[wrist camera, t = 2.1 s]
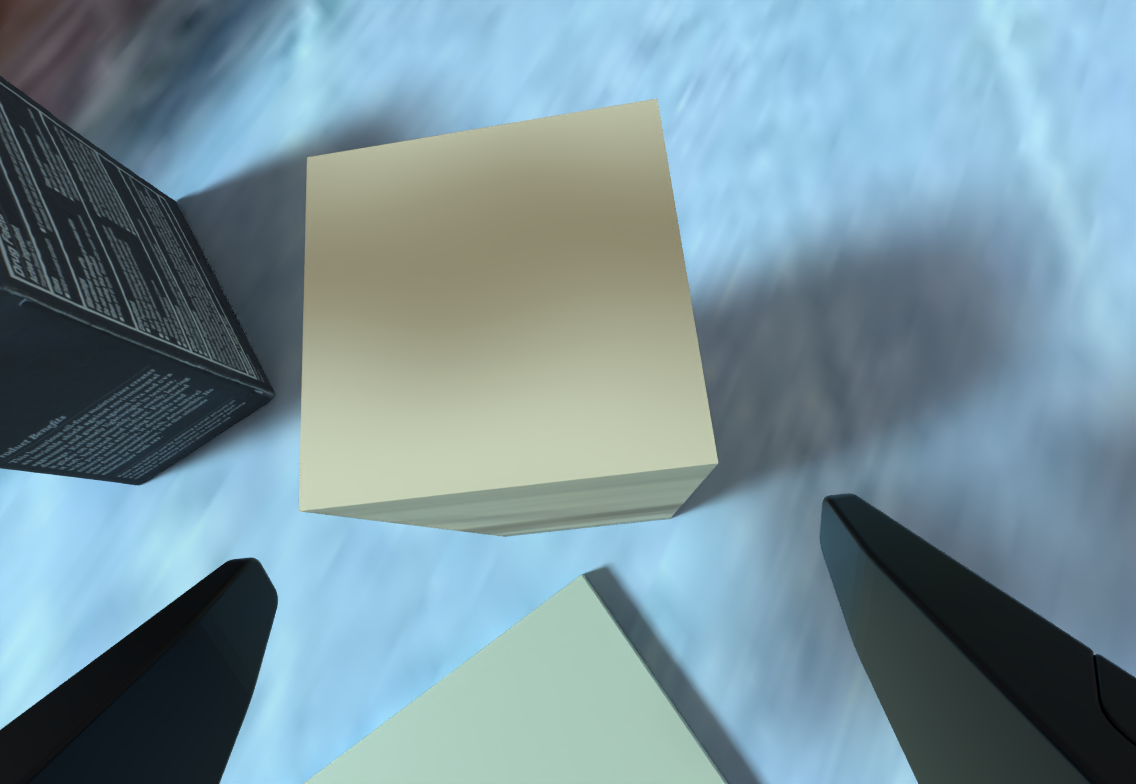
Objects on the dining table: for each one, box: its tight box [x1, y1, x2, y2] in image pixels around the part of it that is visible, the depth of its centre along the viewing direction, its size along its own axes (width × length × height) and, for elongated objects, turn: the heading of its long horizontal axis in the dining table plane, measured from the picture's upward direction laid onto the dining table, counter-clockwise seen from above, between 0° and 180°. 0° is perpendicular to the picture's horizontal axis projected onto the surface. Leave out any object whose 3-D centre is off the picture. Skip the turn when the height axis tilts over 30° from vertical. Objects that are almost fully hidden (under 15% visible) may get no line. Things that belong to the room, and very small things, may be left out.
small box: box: [0, 76, 274, 485], centre depth 18 cm, size 11×6×10 cm, turn 34°
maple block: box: [299, 99, 718, 537], centre depth 14 cm, size 6×6×12 cm
